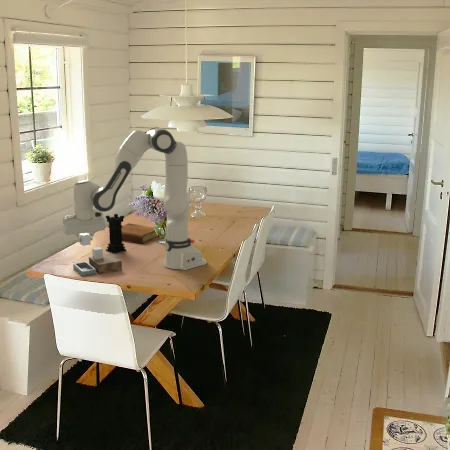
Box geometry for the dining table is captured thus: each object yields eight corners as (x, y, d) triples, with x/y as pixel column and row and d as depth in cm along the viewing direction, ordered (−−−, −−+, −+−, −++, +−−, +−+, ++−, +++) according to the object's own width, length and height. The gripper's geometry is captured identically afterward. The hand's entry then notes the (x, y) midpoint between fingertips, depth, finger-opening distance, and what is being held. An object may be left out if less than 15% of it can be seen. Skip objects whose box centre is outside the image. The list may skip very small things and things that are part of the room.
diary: (110, 239, 351) (110, 230, 350) (129, 232, 367) (128, 223, 366) (142, 244, 341) (142, 235, 340) (160, 236, 357) (159, 227, 356)
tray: (86, 266, 302) (86, 261, 302) (96, 274, 291) (96, 269, 290) (73, 268, 299) (73, 263, 298) (82, 276, 287) (82, 271, 287)
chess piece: (126, 250, 328) (125, 215, 323) (114, 253, 323) (113, 218, 317) (117, 247, 334) (116, 213, 328) (106, 250, 328) (104, 215, 323)
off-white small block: (87, 242, 291) (87, 232, 289) (90, 244, 288) (90, 234, 286) (80, 243, 289) (79, 233, 287) (82, 245, 285) (82, 235, 284)
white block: (100, 256, 302) (99, 246, 301) (102, 258, 299) (102, 248, 298) (92, 257, 300) (92, 248, 299) (95, 259, 297) (94, 250, 296)
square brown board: (111, 262, 308) (110, 253, 307) (121, 270, 297) (121, 260, 296) (89, 266, 302) (88, 257, 301) (99, 274, 291) (98, 264, 289)
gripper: (64, 217, 276) (66, 245, 280) (106, 212, 287) (107, 239, 290) (60, 214, 281) (62, 242, 285) (101, 209, 292) (102, 236, 295)
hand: (85, 241), depth 288 cm, fingers closed on off-white small block, 4 cm apart
